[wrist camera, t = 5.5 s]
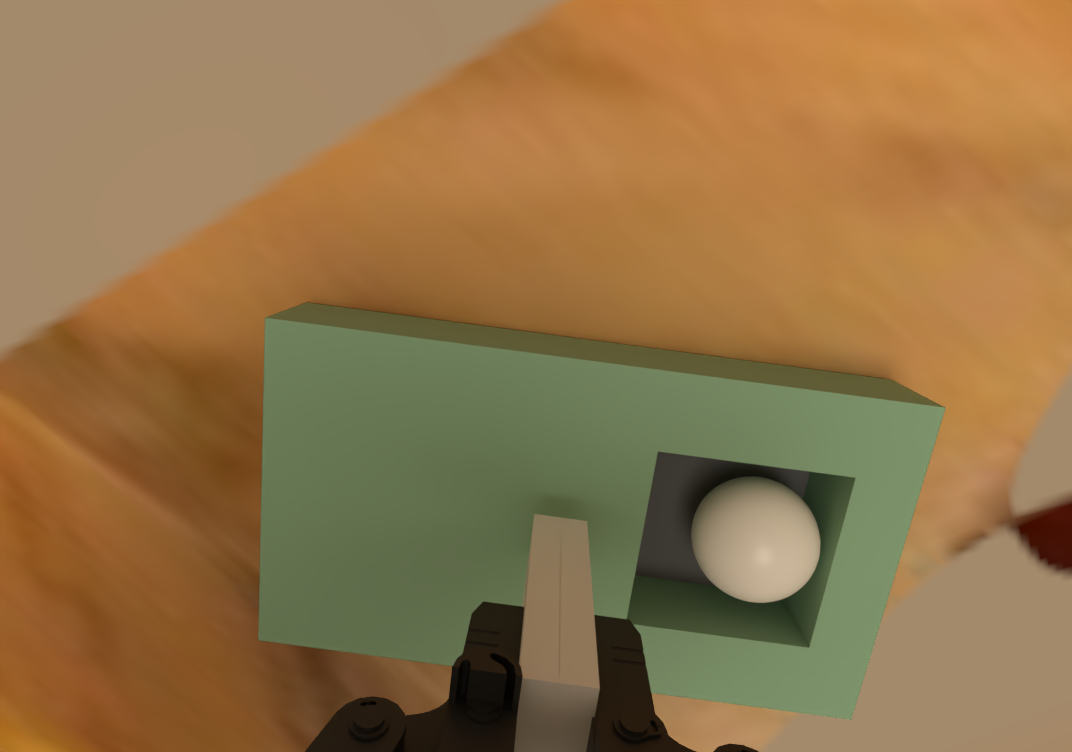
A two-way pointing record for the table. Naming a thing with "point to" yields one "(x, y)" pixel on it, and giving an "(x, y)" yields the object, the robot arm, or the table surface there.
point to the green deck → (572, 494)
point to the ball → (755, 539)
